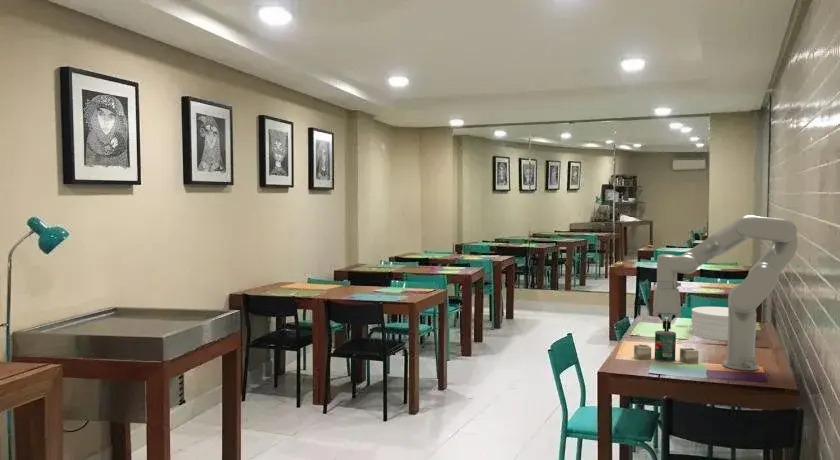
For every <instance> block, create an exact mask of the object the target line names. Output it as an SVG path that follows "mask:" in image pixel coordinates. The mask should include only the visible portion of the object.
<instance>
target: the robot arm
mask: <svg viewBox="0 0 840 460" xmlns="http://www.w3.org/2000/svg"><path fill="white" fill-rule="evenodd" d="M797 233H798V228H797V225H796V224H795V223H794V221H792V220H790V219H787V218H783V217H782V218H778V217H770V216H769V217H767V216H758V215H753V214H744V215H741V216H739V217H738V218H736V219H734V220H733V221H731V222H730V223H728V224H727V225H726V226H724V227H722V228H721V229H719V230H718V231H716V232H714V233H713V234H711V235H710V236H708V237H707V238H706V239H704V240H703V241H701V242H700V243H699V244H697V245H695V246H693V247H692V248H691V249H689V250H687V251H686V252H684V253H683V254H681V255H676V254H670V253H669V254H668V253H667V254H665V253H662V254H661V253H660V254H659V255H657V257H656V258H657V259H656V287H655V288H654V290H653V292H654V293H653V301H652V302H653V303H652V309H653V311H652V316H654V317H658V318H659V319H660V320H661V321H662V329H663V330H664V331H667V332H669V331H670V330H671V326H672V323H671V322H672V321H674V319H676V318H681V317H682V313H681V295H680V294H681V293H680V292H681V291H680V289H679V288H678V287H682V284H681V282H679V281H678V273H679V274H684V275H690V274H693V273H695V272H696V271H697V269H698V268H699V267H700V266H702V265H703V264H706V263H707V262H708V261H710V260H712V259H715V258H716V257H718V256H719V257H720V256H721V255H725V254H726V253H729V252H730V251H731V250H733V249H734V248H736V247H738V246H739V245H741V244H742V243H744V242H746V241H748V240H749V239H754V240H755V239H756V240H759V241H760V240H761V241H769V242H771V244H770V246H769V248H768V249H767V250H766V251H765V252H764V254H763V255H762V256H761V257H760V258H759V259H758V261H757V262H756V263H755V264H754V265H753V266H751V267H750V269H749V271H748V274H747V276H746V277H745V278H744V280H743V281H741V283H740V284H737V285H735V286H733V287H732V288H731V289H730V290H729V292H728V296H727V301H728V302H727V303H728V305H727V306H728V341H727V344H726V345H727V346H726V347H727V348H726V350H727V351H726V352H727V353H726V359H725V360H722V365H723V367H726V368H729V369H732V370H738V371H739V370H740V371H757V370H759V369H760V365H759V363H758V362H756V357H755V354H756V352H755V351H756V338H755V335H756V333H755V329H756V328H757V308H758V307H759V306H760V305H761V304H762V302H763V301H764V300H765V299H766V298H767V297H768V296H769V295H770V294H771V293H772V291H773V290H774V289H775V288H776V286H777V285H778V282H779V275H780V274H781V273H782V272H783V270H785V268H786V267H787V266H788V264H790V262H791V261H792V260H793V258H794V257H795V255H796V252H797V249H798V237H797ZM665 315H668V318H667V319H666V316H665Z"/></svg>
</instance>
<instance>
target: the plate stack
mask: <svg viewBox="0 0 840 460" xmlns="http://www.w3.org/2000/svg"><path fill="white" fill-rule="evenodd" d="M690 328H691V330H690V333H691V334H692V335H694V336H696V337H700V338H702V339H703V338H704V339H708V340H709V339H710V340H716V341H727V342H728V307H726V306H697V307H693V308H692V309H691V326H690ZM756 332H757V330H756V328H755V339H756V337H757V336H756Z"/></svg>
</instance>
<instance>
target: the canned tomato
mask: <svg viewBox="0 0 840 460" xmlns="http://www.w3.org/2000/svg"><path fill="white" fill-rule="evenodd" d="M676 343H677V332H676V331H675V332H674V331H672V330H671V331H670V330H669V332H667V331H665V330H656V331H654V360H655V361H657V360H658V362H661V363H673V361H674V362H675V361H676V349H677V348H676V346H677V345H676Z"/></svg>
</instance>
